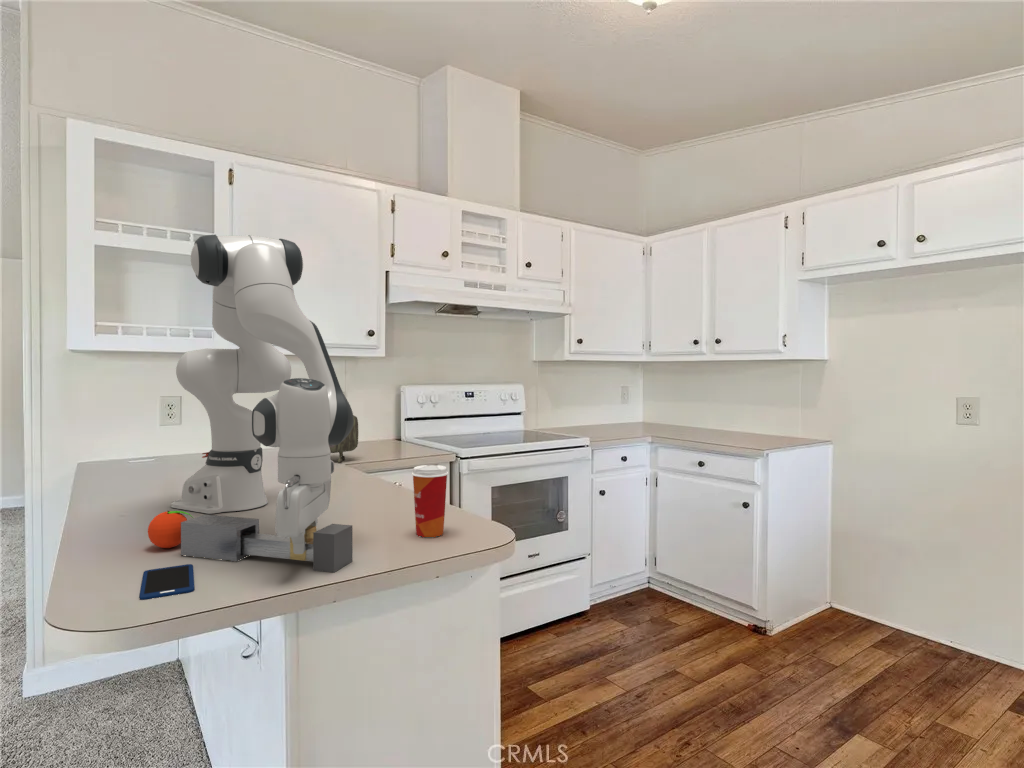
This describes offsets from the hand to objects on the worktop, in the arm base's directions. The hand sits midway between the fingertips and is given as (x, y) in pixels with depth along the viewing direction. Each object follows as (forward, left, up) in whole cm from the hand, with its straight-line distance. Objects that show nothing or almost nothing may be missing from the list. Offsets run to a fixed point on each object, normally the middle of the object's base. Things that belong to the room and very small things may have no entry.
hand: (304, 548), depth 105 cm
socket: (+6, 0, -3) cm, 6 cm away
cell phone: (-16, -14, -3) cm, 21 cm away
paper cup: (+14, +23, -3) cm, 27 cm away
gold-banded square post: (-4, 0, -3) cm, 5 cm away
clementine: (-30, +1, -3) cm, 30 cm away
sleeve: (-18, 0, -3) cm, 18 cm away
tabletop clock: (-56, +103, -3) cm, 117 cm away
